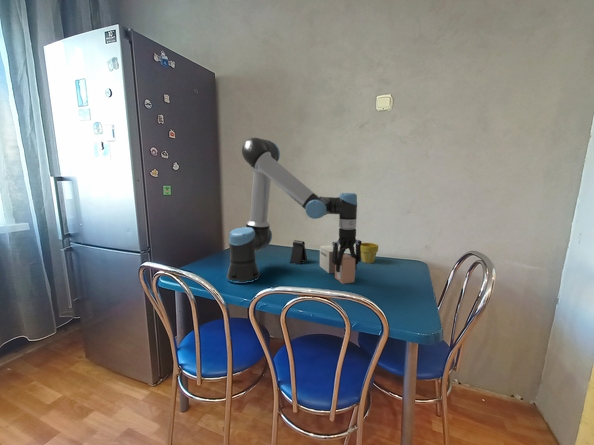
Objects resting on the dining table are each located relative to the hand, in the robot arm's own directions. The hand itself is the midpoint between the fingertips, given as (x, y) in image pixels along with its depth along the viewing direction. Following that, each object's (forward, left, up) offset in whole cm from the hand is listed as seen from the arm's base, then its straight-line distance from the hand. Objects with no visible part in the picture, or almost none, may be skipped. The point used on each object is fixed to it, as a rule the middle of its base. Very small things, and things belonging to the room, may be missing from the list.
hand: (346, 277), depth 129 cm
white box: (0, +18, -2) cm, 18 cm away
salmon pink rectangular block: (0, +2, -2) cm, 2 cm away
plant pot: (+26, +23, -2) cm, 35 cm away
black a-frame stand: (-11, +35, -2) cm, 37 cm away
